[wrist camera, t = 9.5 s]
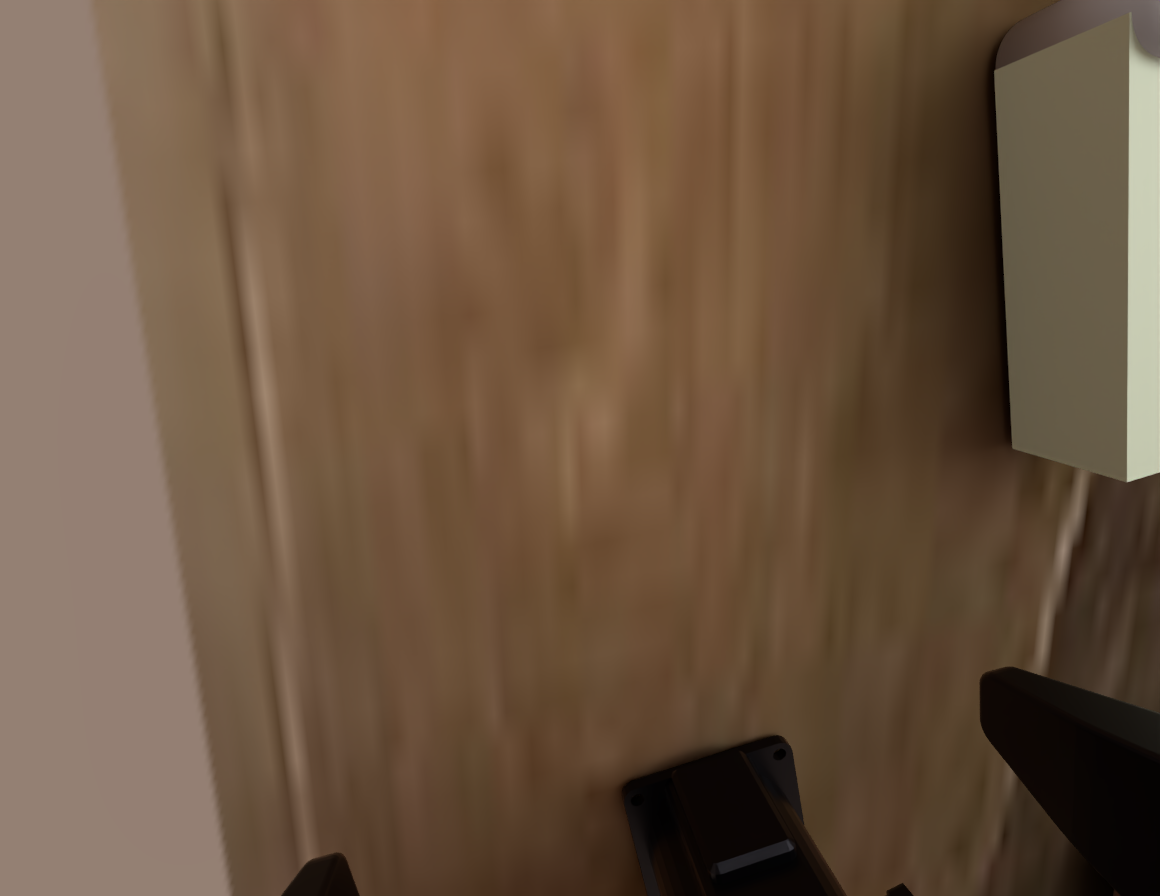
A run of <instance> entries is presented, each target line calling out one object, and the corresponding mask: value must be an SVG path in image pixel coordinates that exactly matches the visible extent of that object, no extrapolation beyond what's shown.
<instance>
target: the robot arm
mask: <svg viewBox="0 0 1160 896" xmlns="http://www.w3.org/2000/svg"><path fill="white" fill-rule="evenodd" d="M980 722H981V726H982V729H983V731H984V733H985V735H986V737H987V738H988V740H989V741H990V742H991V744H992V745H993V746H994V747H995V749H996V750H997V751H998V752H999V754H1000V755H1001V756H1002V757H1003V759H1004V760H1005V761H1006V762H1007V764H1008V765H1009V766H1010V768H1011V769H1012V770H1013V771H1014V773H1015V774H1016V775H1017V776H1018V778H1019V779H1020V780H1021V781H1022V783H1023V784H1024V785H1025V786H1026V788H1027V789H1028V790H1029V791H1030V793H1031V794H1032V795H1033V796H1034V798H1035V799H1036V800H1037V801H1038V803H1039V804H1040V805H1041V806H1042V808H1043V809H1044V810H1045V811H1046V813H1047V814H1048V815H1049V816H1050V818H1051V819H1052V820H1053V821H1054V823H1055V824H1056V825H1057V826H1058V828H1059V829H1060V830H1061V831H1062V832H1063V834H1064V835H1065V836H1066V837H1067V838H1068V840H1069V841H1070V842H1071V843H1072V844H1073V845H1074V846H1075V848H1076V849H1077V850H1078V851H1079V852H1080V853H1081V854H1082V855H1083V856H1084V858H1085V859H1086V860H1087V861H1088V862H1089V863H1090V864H1091V865H1092V866H1093V867H1094V868H1095V869H1096V870H1097V872H1098V873H1099V874H1100V875H1101V876H1102V877H1103V878H1104V879H1105V880H1106V881H1107V882H1108V883H1109V884H1110V885H1111V887H1112V888H1113V889H1114V890H1115V891H1116V892H1117V893H1118V894H1119V895H1120V896H1160V713H1158V712H1155V711H1151V710H1148V709H1145V708H1142V707H1139V706H1136V705H1132V704H1129V703H1126V702H1123V701H1120V700H1117V699H1113V698H1110V697H1107V696H1104V695H1101V694H1098V693H1094V692H1091V691H1088V690H1085V689H1082V688H1079V687H1075V686H1072V685H1069V684H1066V683H1063V682H1060V681H1056V680H1053V679H1050V678H1047V677H1044V676H1041V675H1037V674H1034V673H1031V672H1028V671H1025V670H1022V669H1018V668H1015V667H1003V668H1000V669H996V670H992V671H989V672H986V673H984V674H983V675H982V677H981V679H980ZM778 749H780V750H779V751H777V752H775V751H776V750H778ZM774 752H775V753H774ZM636 794H640V795H639V796H637V797H633V796H634V795H636ZM622 798H623V802H624V806H625V810H626V814H627V817H628V821H629V825H630V829H631V833H632V837H633V841H634V844H635V848H636V852H637V856H638V860H639V864H640V868H641V872H642V875H643V879H644V883H645V887H646V891H647V895H648V896H847V895H846V894H845V892H844V891H843V889H842V887H841V886H840V884H839V882H838V881H837V879H836V877H835V876H834V874H833V872H832V871H831V869H830V868H829V866H828V864H827V863H826V861H825V859H824V858H823V856H822V854H821V853H820V851H819V849H818V848H817V846H816V845H815V843H814V841H813V840H812V838H811V836H810V835H809V833H808V831H807V830H806V828H805V826H804V821H803V815H802V809H801V803H800V796H799V790H798V784H797V777H796V771H795V765H794V759H793V752H792V749H791V747H790V745H789V744H788V742H787V741H786V739H785V738H783V737H782V736H778V735H777V736H772V737H769V738H765V739H762V740H759V741H756V742H753V743H750V744H747V745H743V746H740V747H737V748H734V749H731V750H728V751H724V752H721V753H718V754H715V755H712V756H709V757H706V758H702V759H699V760H696V761H693V762H690V763H687V764H684V765H680V766H677V767H674V768H671V769H668V770H665V771H662V772H658V773H655V774H652V775H649V776H646V777H643V778H640V779H636V780H633V781H631V782H629V783H627V784H626V785H625V786H624V788H623V790H622ZM886 893H887V895H886V896H913V895H912V893H911V892H910V891H909V890H908V889H907V887H906V886H905V885H904V884H903V883H901V884H899V885H897V886H895V887H893V888H891V889H889V890H887V891H886ZM281 896H360V895H359V893H358V890H357V887H356V884H355V882H354V879H353V876H352V873H351V871H350V868H349V865H348V862H347V860H346V858H345V856H344V855H343V854H342V853H333V854H329V855H325V856H322V857H318V858H315V859H312V860H310V861H309V862H307V863H306V864H305V865H304V867H303V868H302V869H301V870H300V872H299V873H298V874H297V876H296V877H295V878H294V880H293V881H292V882H291V884H290V885H289V886H288V887H287V889H286V890H285V891H284V893H283V894H282V895H281Z"/></svg>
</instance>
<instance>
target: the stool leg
mask: <svg viewBox="0 0 1160 896" xmlns="http://www.w3.org/2000/svg"><path fill="white" fill-rule="evenodd" d="M994 80H995V100H996V121H997V142H998V162H999V183H1000V204H1001V225H1002V245H1003V266H1004V287H1005V307H1006V328H1007V349H1008V370H1009V390H1010V411H1011V432H1012V449H1015V450H1019V451H1022V452H1026V453H1029V454H1032V455H1036V456H1039V457H1043V458H1046V459H1049V460H1053V461H1056V462H1060V463H1063V464H1066V465H1070V466H1073V467H1077V468H1080V469H1083V470H1087V471H1090V472H1094V473H1097V474H1100V475H1104V476H1107V477H1111V478H1114V479H1117V480H1121V481H1124V482H1130V481H1133V480H1136V479H1139V478H1143V477H1146V476H1149V475H1152V474H1155V473H1159V472H1160V0H1060V1H1058V2H1056V3H1054V4H1052V5H1050V6H1048V7H1046V8H1044V9H1042V10H1040V11H1038V12H1036V13H1034V14H1032V15H1030V16H1028V17H1026V18H1024V19H1022V20H1021V21H1019V22H1018V23H1016V24H1015V25H1014V26H1013V27H1012V28H1011V29H1010V30H1009V31H1008V32H1007V34H1006V35H1005V37H1004V38H1003V40H1002V42H1001V44H1000V47H999V50H998V53H997V57H996V70H995V71H994Z"/></svg>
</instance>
